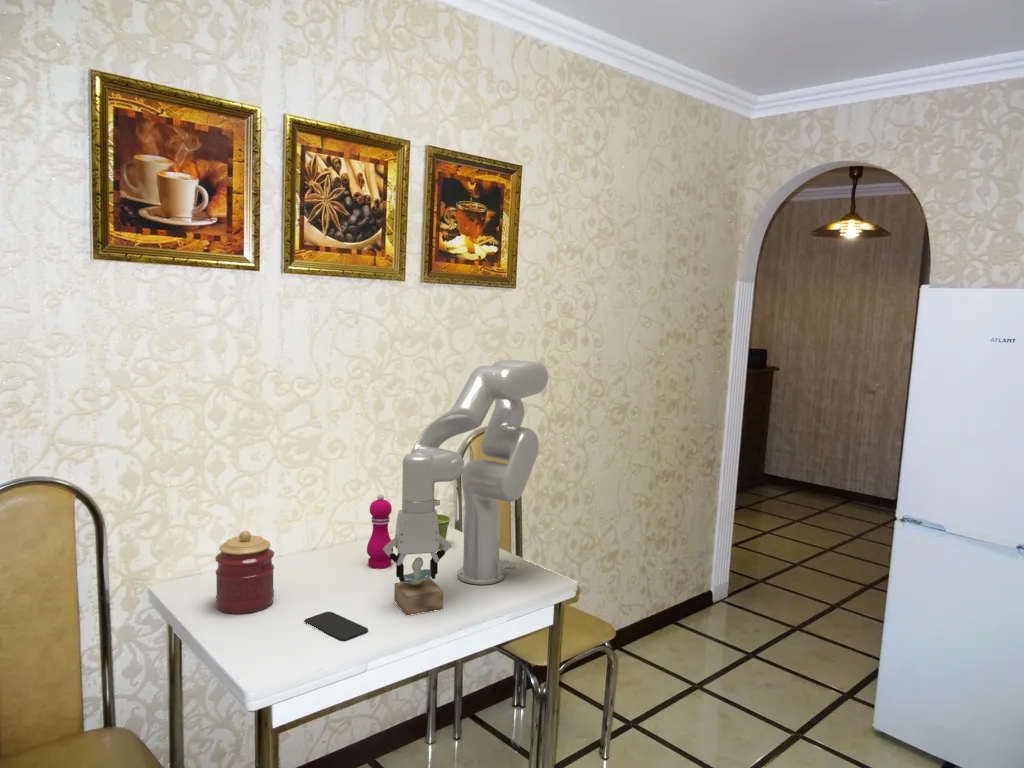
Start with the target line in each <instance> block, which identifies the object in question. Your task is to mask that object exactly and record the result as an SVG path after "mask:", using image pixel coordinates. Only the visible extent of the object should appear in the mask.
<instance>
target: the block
mask: <svg viewBox="0 0 1024 768" xmlns="http://www.w3.org/2000/svg"><path fill="white" fill-rule="evenodd" d="M393 593H394V599H393V600H394V601H395V602H396V603H397V605H398V606H399V607H400V608H401V609H402V610H403V612H404V613H405V614H406V615H410V616H412V615H411V614H416V615H418V614H417V613H422V612H428V611H433V612H435V611H434V610H439V611H442V610H441V609H443V610H444V608H443V607H444V605H443V604H444V589H442V588H441V587H440V586H439V585H438V584H437V583H436V582H435V581H434V579H432V578H431V577H429V578H428V579H426V580H424V581H423V582H422V583H420V584H410V583H403V582H400V581H398V582H397V581H396V582H394V592H393ZM394 601H393V602H394ZM395 602H394V603H395ZM396 603H395V604H396ZM397 605H396V606H397ZM398 606H397V607H398ZM399 607H398V608H399ZM400 608H399V609H400ZM401 609H400V610H401ZM402 610H401V611H402ZM403 612H402V613H403ZM404 613H403V614H404ZM428 613H429V612H428ZM405 614H404V615H405ZM422 614H423V613H422ZM406 615H405V616H406Z"/></svg>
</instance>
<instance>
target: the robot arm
mask: <svg viewBox="0 0 1024 768" xmlns="http://www.w3.org/2000/svg"><path fill="white" fill-rule="evenodd" d="M548 381H549V373H548V370H547V368H546V366H545V365H543V364H542V363H541V362H538V361H530V360H528V361H527V360H516V359H515V360H514V359H501V360H498V361H495V362H494V363H493V364H492V365H480V366H478V367H476V368H475V369H474V370H473V371H472V373H470V376H469V377H468V379H467V381H466V383H465V384H464V386H463V388H462V390H461V392H460V393H459V395H458V397H457V398H456V400H455V403H454V405H453V406H452V407H451V409H450V410H448V411H447V412H445V413H443V414H442V415H440V416H439V417H437V418H436V419H435V420H433V421H432V422H431V423H430V424H428V425H427V426H426V427H425V428H424V429H423V430H422V432H421V433H420V434H419V436H418V438H417V439H416V441H415V443H414V445H413V446H412V447H413V448H412V449H411V451H410V453H407V454H406V455H405V456H404V457H403V460H402V480H401V481H402V482H401V483H402V487H401V488H402V491H401V492H402V493H401V494H402V495H401V499H402V500H401V503H402V504H401V509H399V510H398V513H397V517H396V524H395V536H394V538H392V539H391V541H390V542H389V543H388V544H387V545H386V546H385V547H384V548H383V550H384V552H385V553H386V554H387V555H388V556H389V557H390V558H391V561H393V562H394V563H395V564H396V566H395V567H396V569H395V570H396V571H395V574H396V578H398V580H399V582H403V581H404V575H405V568H404V567H405V566H404V564H403V562H404V560H405V558H406V556H407V555H420V554H430V556H431V558H430V560H429V570H430V571H431V576H430V579H431V580H436V575H438V574H439V571H438V570H439V562H440V560H441V559H442V558H443V557H444V556H445V555H446V553H447V552H448V551H449V549H450V548H451V547H452V544H451V543H450V542H449V541H448V540H447V539H446V540H445V539H444V538H443V537H441V536H440V535H439V525H438V517H437V514H438V512H437V509H436V507H437V506H441V500H440V499H438V498H437V499H436V498H435V484H436V483H441V482H443V483H444V482H446V483H448V482H449V483H450V482H453V481H455V480H457V479H459V478H460V477H461V486H462V491H463V500H464V501H463V503H464V523H463V525H464V526H463V530H464V531H463V561H462V563H463V565H462V566H463V567H461V568H459V569H458V570H457V574H456V577H457V578H458V579H459V580H460V581H461V582H463V583H467V584H470V585H471V584H472V585H481V586H482V585H492V584H497V583H498V582H501V581H503V580H504V578H505V571H506V570H516V569H517V562H516V561H509V559H505V560H504V559H503V560H502V559H501V558H500V538H501V537H500V535H501V533H500V532H501V509H500V508H501V507H500V504H499V502H498V501H502V502H508V503H509V502H510V503H511V502H515V501H517V500H519V498H520V497H521V496H522V495H523V493H524V491H525V489H526V486H527V483H528V480H529V478H530V476H531V473H532V470H533V467H534V465H535V462H536V460H537V456H538V453H539V448H540V447H539V446H540V445H539V438H538V435H537V433H536V432H535V431H534V430H532V429H531V428H528V427H525V426H522V424H523V421H524V418H525V412H526V411H525V407H524V403H523V401H522V399H525V398H529V397H532V396H534V395H537V394H540V393H541V392H543V390H545V389H546V387H547V385H548ZM494 402H495V403H494ZM493 404H495V405H494V409H493V411H492V413H491V416H490V419H489V421H488V423H487V426H486V429H485V431H484V434H483V436H482V439H481V442H480V449H481V452H482V453H483V454H484V455H485V456H487V457H488V458H492V459H496V460H500V461H504V462H505V461H506V463H504V462H499V461H495V460H494V461H493V460H489V459H488V460H487V459H481V458H480V459H479V458H478V459H472V460H471V461H468V462H467V463H466V464H465V460H464V458H463V457H462V455H461V454H460V453H458V452H457V451H453V450H449V449H445V448H440V447H441V446H442V445H443V443H445V442H446V441H448V440H450V439H451V438H453V437H455V436H459V435H462V434H465V433H468V432H471V431H474V430H476V429H477V428H480V427H481V426H482V424H483V421H484V419H485V418H486V416H487V415H488V412H489V410H490V409H491V407H492V405H493ZM439 542H440V543H441V544H442V545H443V547H442V548H440V549H439ZM394 547H395V549H396V551H397V554H396V553H394V551H393V552H392V551H391V549H392V548H393V549H394Z"/></svg>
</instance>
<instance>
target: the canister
mask: <svg viewBox="0 0 1024 768" xmlns="http://www.w3.org/2000/svg"><path fill="white" fill-rule="evenodd" d="M270 547H271V542H270V540H269V541H268V539H265V538H263V537H262V536H258V535H252V534H251V532H250V531H249V530H243V531H241V532H240V533H239V534H238V536H235V537H231V538H229V539H228V540H226V541H225V542H224V543H221V544H220V546H219V547H218V549H219V551H220V552H218V553H217V554H216V556H215V561H216V562H217V569H216V570H215V575H216V578H215V579H216V595H215V603H216V607H217V609H218V610H219V611H221V612H223V613H226V614H235V615H239V614H240V615H241V614H249V613H255V612H258V611H262V610H264V609H267V608H268V607H269V606H271V605H272V604H273V602H274V598H275V589H274V570H275V565H274V564H273V559H272V558H273V557H274V556H275V552H274V550H273V549H271V548H270Z"/></svg>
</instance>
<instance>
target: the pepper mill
mask: <svg viewBox="0 0 1024 768" xmlns="http://www.w3.org/2000/svg"><path fill="white" fill-rule="evenodd" d="M392 510H393V509H392V505H391V502H390V501H388V500H387V499H385V496H384V494H383V493H380V494H378V495H377V499H376V500H374V501H373V502H371V503H370V506H369V514H370V515H371V516H372V517H371V518H370V519H371V524H372V532H371V536H370V537H369V540H368V542H367V546H366V554H367V555H368V556H369V558H368V567H369V566H370V567H369V568H371V567H372V569H376V568H378V569H377V570H379V568H380V570H381V568H382V569H387V568H389V567H391V565H392V559H391V558H390V557H389V556H388V555H387V554H386V553H385V552H384V550H383V548H384V547H385V546H386V545H387V544H388V543H389V542H390V541H391V540H392V539H391V537H390V534H389V533H390V532H389V523H390V522H391V521H390V514H391V513H392ZM391 551H392V552H393V553H394V547H393V548H392V549H391Z"/></svg>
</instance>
